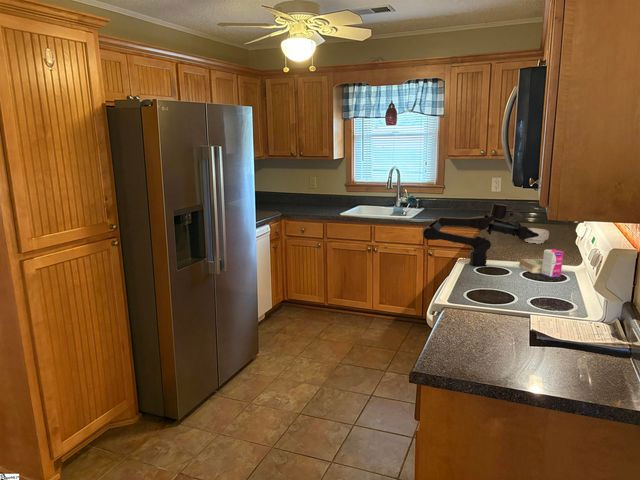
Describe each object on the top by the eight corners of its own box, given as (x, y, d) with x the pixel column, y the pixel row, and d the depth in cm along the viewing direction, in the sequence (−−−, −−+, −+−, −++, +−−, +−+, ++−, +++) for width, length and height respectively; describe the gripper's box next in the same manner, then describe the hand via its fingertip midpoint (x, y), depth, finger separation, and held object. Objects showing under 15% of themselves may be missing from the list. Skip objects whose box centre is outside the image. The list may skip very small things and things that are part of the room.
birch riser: (531, 273, 219) (532, 265, 219) (519, 266, 232) (520, 258, 231) (560, 273, 220) (560, 265, 219) (546, 266, 233) (546, 258, 232)
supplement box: (550, 277, 212) (552, 252, 209) (540, 274, 217) (543, 249, 215) (561, 277, 213) (564, 251, 211) (551, 273, 219) (554, 248, 217)
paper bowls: (550, 245, 284) (551, 232, 283) (522, 244, 289) (523, 230, 287) (545, 241, 299) (546, 228, 297) (519, 239, 303) (520, 227, 302)
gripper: (511, 212, 218) (546, 219, 217) (501, 208, 237) (533, 214, 235) (505, 236, 221) (540, 243, 219) (495, 229, 239) (527, 236, 238)
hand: (535, 233), depth 228 cm, fingers open, 9 cm apart
